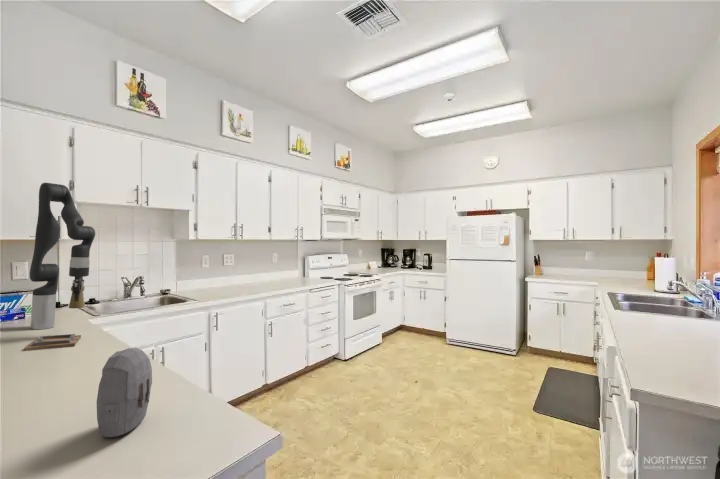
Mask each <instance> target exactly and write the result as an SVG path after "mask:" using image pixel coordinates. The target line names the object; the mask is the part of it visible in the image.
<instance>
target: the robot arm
mask: <svg viewBox="0 0 720 479" xmlns="http://www.w3.org/2000/svg"><path fill="white" fill-rule="evenodd" d="M51 202H52V203H53V202H54V203H62V204H63V207H62V209H61V211H60V217H61V219H62V220H63V222H64V223H65V226H66V229H67V231H66V232H67V237H68V238H69V239H72V240H73V241H82V242H81V243H80V244H75V245H72V247H71V250H70V260H69V269H68V270H69V272H68V276H69V277H74V279H73V280H72V286H73V294H74V295H75V301H78V299H79V295H80V294H81V293H80V290H81V289H82V285H84V286H85V279H84V277H88V276H89V275H90V263H91V262H90V253H91V252H90V251H91V248H92V244H93V242H94V239H95V238H96V237H95V236H96V230H95V229H94V227H92V226H88V225H84V224H85V221H84V219H83V218H82V215H80V213H79V211H78V209H77V208H76V205H75V202H74V199H73V196H72V194H71V191H70V189H69V188H68V187H67V186H66V185H64V184H58V183H50V182H42V183H41V184H40V186H39V190H38V212H37V213H38V214H37V222H36V228H35V236H34V238H35V239H34V248H33V254H32V259H31V263H30V270H29V279H30V281H31V282H33V283H39V282H40V283H41V282H46V283H45V284H44V285H42V286H40V287H37V288H34V289H33V290H32V298H31V310H30V312H31V313H30V330H45V329H50V328H54V327H55V322H56V321H55V320H56V306H57V305H56V304H57V291H58V285H59V284H58V283H59V276H60V267H59V265H58V264H57V263H43V260H44V258H45V257H46V255H47V254H48V252H50V250H52V249H53V248H54V246H56V244H57V243H58V242H59V240H60V234H61V226H60V224H59V222H58V220H57V218H56V217H55V215H54V214H53V211H52V209H51ZM80 286H81V287H80ZM75 290H78V291H75ZM76 296H77V297H76ZM76 299H77V300H76Z"/></svg>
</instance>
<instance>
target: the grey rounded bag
mask: <svg viewBox="0 0 720 479" xmlns="http://www.w3.org/2000/svg"><path fill="white" fill-rule="evenodd" d="M152 385H153V368H152V364H151V361H150V357H148V355H147V353H146V352H145V351H144V350H143V349H140V348H137V347H128V348H125V349H123V350H117V351H115V352H114V353H113V354H112V355H111V356H109V357H108V359H107V361H106V362H105V364H104V366H103V368H102V372H101V378H100V381H99V384H98V389H97V398H96V419H97V425H98V432H99V434H100V435H101V436H102V437H105V438H114V437H119V436H122V435H125V434H127V433H128V432H129V433H130V431H133V430H134V429H135V428H136V427H137V426H139V425H140V424H141V423H142V421H143V420H144V419H145V418H146V416H147V410H148V406H149V403H150V397H151V390H152V389H151V388H152Z"/></svg>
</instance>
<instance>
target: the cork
mask: <svg viewBox="0 0 720 479" xmlns="http://www.w3.org/2000/svg"><path fill="white" fill-rule="evenodd" d="M80 287H81V286H80ZM70 291H71V296H70V301H69V305H68V309H83V308H85V298H84V291H85V284H84V285H82V289H81V290H80V293H81V294H80V295H79V299H78V301H75V295H74V294H73V285H72V286H71V287H70ZM75 291H78V290H75ZM76 297H77V296H76ZM76 300H77V299H76Z"/></svg>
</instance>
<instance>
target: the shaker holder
mask: <svg viewBox="0 0 720 479" xmlns="http://www.w3.org/2000/svg"><path fill="white" fill-rule="evenodd" d="M81 338H82V335H81V334H79V335H78V334H75V333H70V334H55V335H54V334H53V335H42V336H39V337H37V338H35V339H34V340H33V341H31V342H30V343H28V345H26V346H25V347H24V351H25V352H27V351H36V350H51V349H59V348H60V349H61V348H72V347H75V346H76V345H77V344H78V342H79V341H80V340H81Z"/></svg>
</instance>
